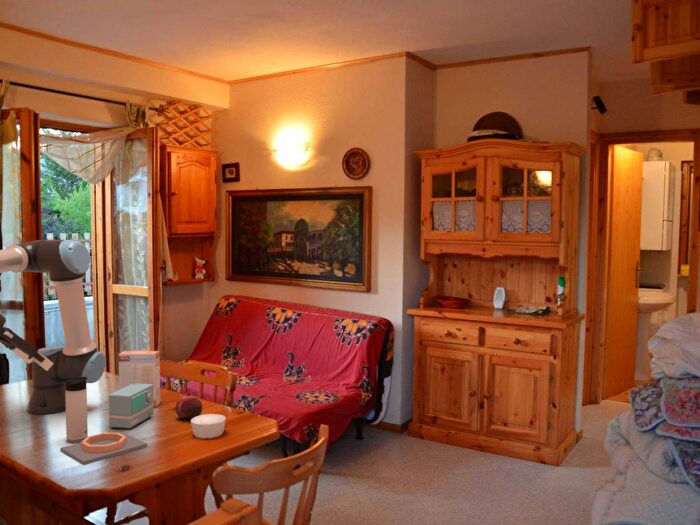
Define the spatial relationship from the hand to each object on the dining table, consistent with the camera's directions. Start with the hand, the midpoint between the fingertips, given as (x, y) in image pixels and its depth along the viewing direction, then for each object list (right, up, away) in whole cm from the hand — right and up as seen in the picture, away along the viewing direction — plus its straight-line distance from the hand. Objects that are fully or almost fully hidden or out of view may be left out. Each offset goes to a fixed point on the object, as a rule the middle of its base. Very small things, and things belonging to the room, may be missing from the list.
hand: (40, 363), depth 190 cm
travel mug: (+7, -26, +10) cm, 29 cm away
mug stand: (+19, -27, +2) cm, 33 cm away
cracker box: (+14, -24, +47) cm, 55 cm away
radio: (+19, -25, +27) cm, 42 cm away
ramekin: (+48, -26, +16) cm, 57 cm away
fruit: (+37, -25, +32) cm, 55 cm away
